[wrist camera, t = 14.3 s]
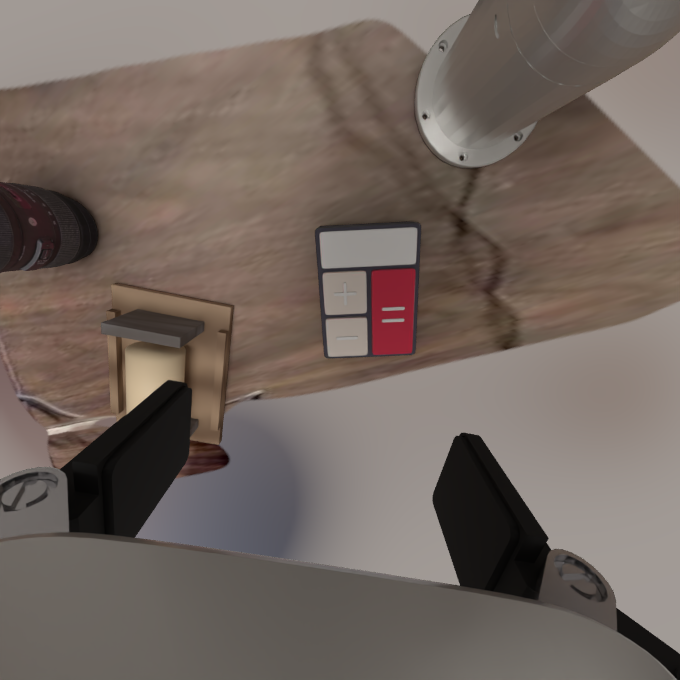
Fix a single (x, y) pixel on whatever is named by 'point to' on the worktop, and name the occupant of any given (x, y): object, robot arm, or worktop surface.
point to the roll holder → (175, 331)
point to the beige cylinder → (150, 369)
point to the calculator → (368, 288)
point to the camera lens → (42, 229)
